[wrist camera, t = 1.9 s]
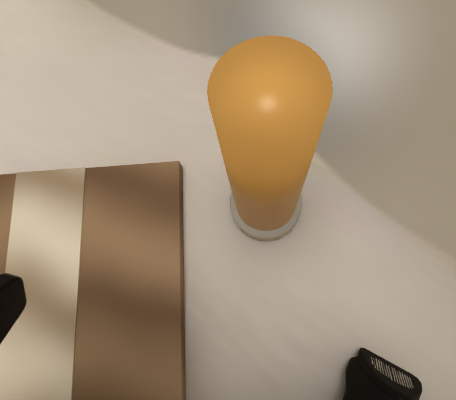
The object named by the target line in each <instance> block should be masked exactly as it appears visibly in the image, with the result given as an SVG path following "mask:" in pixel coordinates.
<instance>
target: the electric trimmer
mask: <svg viewBox="0 0 456 400" xmlns="http://www.w3.org/2000/svg"><path fill="white" fill-rule="evenodd" d="M421 393H422V385H421V382H420V381H419V380H418V379H417V378H416V377H415V376H414V375H412V374H410V373H409V372H407V371H405V370H403V369H401V368H400V367H398V366H396V365H394V364H392V363H391V362H389V361H387V360H385V359H383V358H382V357H380V356H378V355H376V354H374V353H372V352H371V351H369V350H367V349H365V348H361V349H360V351H359V353H358V356H357V357H352V358H351V359H350V362H349V364H348V366H347V371H346V392H345V396H344V398H343V400H419V398H420V395H421Z"/></svg>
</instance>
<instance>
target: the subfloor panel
mask: <svg viewBox="0 0 456 400" xmlns="http://www.w3.org/2000/svg"><path fill="white" fill-rule="evenodd" d="M3 273H10V274H13V275H16V276H19V277H21V278H22V279H23V282H24V288H25V293H26V299H27V302H26V306H25V309H24V311H23V312H22V314H21V315H20V316H19V318H18V319H17V321H16V322H15V324H14V325H13V327H12V328H11V330H10V331H9V333H8V334H7V335H6V337H5V338H4V340H3V341H2V343H1V344H0V400H186V399H185V327H184V254H183V181H182V166H181V164H180V162H179V161H175V162H161V163H148V164H135V165H122V166H109V167H96V168H74V169H61V170H48V171H35V172H22V173H16V174H3V175H0V274H3Z"/></svg>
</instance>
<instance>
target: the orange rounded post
mask: <svg viewBox="0 0 456 400" xmlns="http://www.w3.org/2000/svg"><path fill="white" fill-rule="evenodd" d="M207 95H208V102H209V106H210V110H211V114H212V118H213V121H214V125H215V129H216V133H217V137H218V140H219V144H220V148H221V152H222V156H223V160H224V163H225V167H226V171H227V175H228V179H229V182H230V186H231V190H232V193H231V198H230V206H231V211H232V215H233V218H234V220H235V223H236V224H237V226H238V227H239V229H240V230H241V231H242V232H243V233H244V234H246V235H247V236H249V237H251V238H253V239H256V240H260V241H272V240H276V239H279V238H281V237H283V236H285V235H286V234H287V233H289V232H290V231H291V230H292V228H293V227H294V225H295V224H296V222H297V219H298V217H299V214H300V211H301V206H302V198H301V191H302V188H303V185H304V182H305V179H306V176H307V173H308V170H309V167H310V164H311V161H312V158H313V155H314V152H315V149H316V146H317V143H318V140H319V137H320V133H321V130H322V127H323V124H324V122H325V118H326V115H327V112H328V109H329V106H330V103H331V99H332V81H331V76H330V73H329V71H328V68H327V66H326V65H325V63H324V61H323V60H322V59H321V57H320V56H319V55H318V54H317V53H316V52H315V51H313V50H312V49H311V48H310V47H308V46H306V45H305V44H303V43H301V42H299V41H296V40H294V39H290V38H287V37H281V36H262V37H256V38H253V39H249V40H246V41H244V42H241V43H240V44H238V45H236V46H234V47H233V48H231V49H230V50H229V51H227V52H226V53H225V54H224V55H223V56H222V57H221V58H220V59H219V61H218V62H217V64H216V65H215V66H214V68H213V70H212V72H211V75H210V78H209V82H208V91H207Z"/></svg>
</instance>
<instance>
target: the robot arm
mask: <svg viewBox="0 0 456 400" xmlns="http://www.w3.org/2000/svg"><path fill="white" fill-rule="evenodd" d="M26 302H27V299H26V293H25V288H24V282H23V279H22V278H21V277H19V276H16V275H13V274H10V273H3V274H0V344H1V343H2V341H3V340H4V338H5V337H6V335H7V334H8V333H9V331H10V330H11V328H12V327H13V325H14V324H15V322H16V321H17V319H18V318H19V316H20V315H21V314H22V312H23V311H24V309H25V306H26Z"/></svg>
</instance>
